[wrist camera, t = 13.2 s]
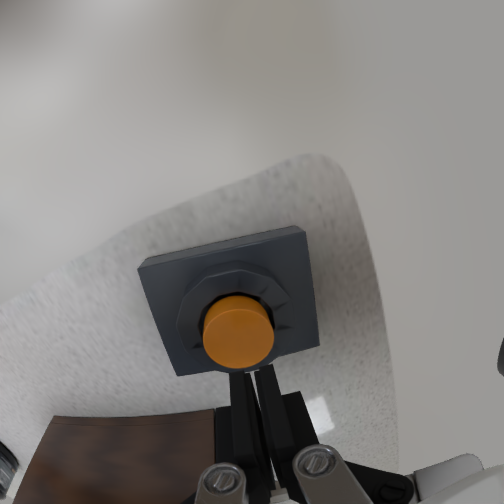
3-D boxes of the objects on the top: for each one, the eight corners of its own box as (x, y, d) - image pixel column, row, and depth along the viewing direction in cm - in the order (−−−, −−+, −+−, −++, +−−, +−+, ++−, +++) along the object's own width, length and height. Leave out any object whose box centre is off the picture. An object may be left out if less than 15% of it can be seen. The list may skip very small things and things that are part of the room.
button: (262, 288, 15) (267, 301, 14) (273, 343, 16) (279, 360, 15) (196, 302, 15) (194, 317, 13) (213, 356, 16) (213, 374, 14)
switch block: (295, 224, 18) (315, 237, 15) (311, 330, 20) (329, 360, 17) (145, 258, 18) (127, 279, 14) (180, 359, 20) (174, 394, 16)
